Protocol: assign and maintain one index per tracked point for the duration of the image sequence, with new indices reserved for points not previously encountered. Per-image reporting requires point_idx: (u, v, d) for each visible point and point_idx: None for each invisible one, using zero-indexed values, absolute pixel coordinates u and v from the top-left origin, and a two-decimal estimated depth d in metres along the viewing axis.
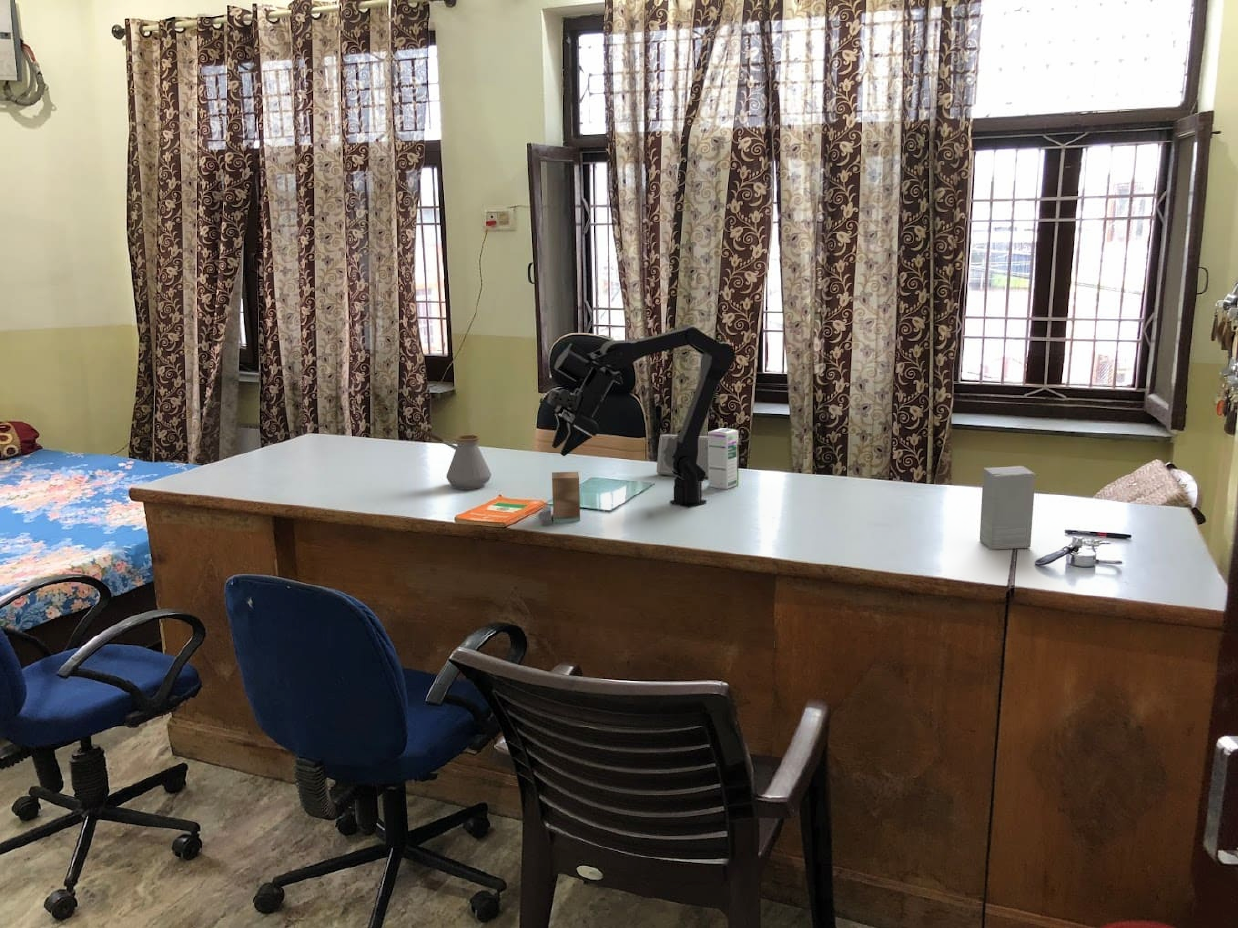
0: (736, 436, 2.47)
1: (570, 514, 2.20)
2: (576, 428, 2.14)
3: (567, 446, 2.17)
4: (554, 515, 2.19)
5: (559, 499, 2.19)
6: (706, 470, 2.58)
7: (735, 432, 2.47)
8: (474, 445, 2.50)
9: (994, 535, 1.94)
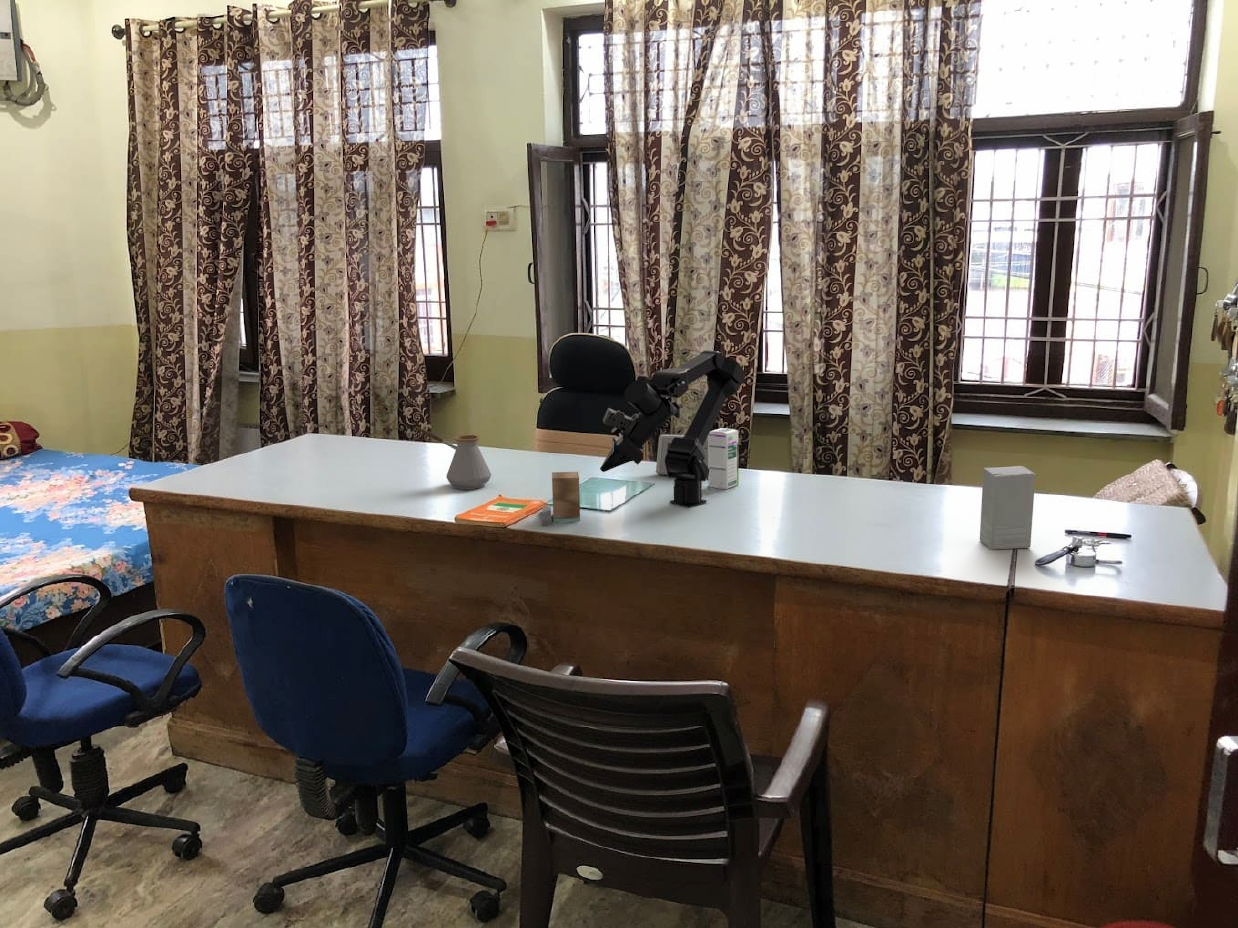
0: (736, 436, 2.47)
1: (570, 514, 2.20)
2: (619, 448, 2.17)
3: (608, 463, 2.20)
4: (554, 515, 2.19)
5: (559, 499, 2.19)
6: None
7: (735, 432, 2.47)
8: (474, 445, 2.50)
9: (994, 535, 1.94)
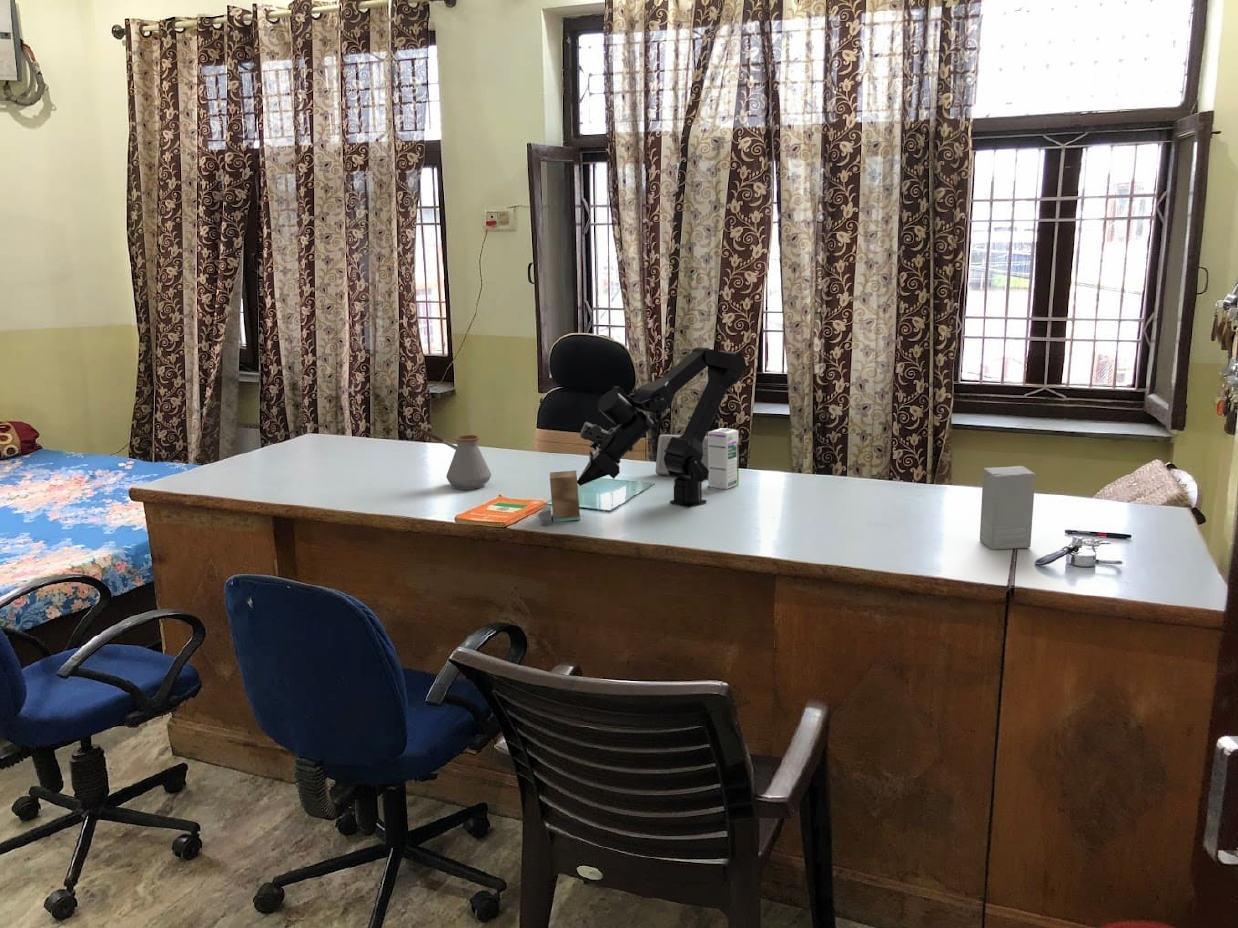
0: (736, 436, 2.47)
1: (569, 513, 2.20)
2: (596, 461, 2.17)
3: (584, 477, 2.20)
4: (554, 515, 2.19)
5: (558, 498, 2.19)
6: None
7: (735, 432, 2.47)
8: (474, 445, 2.50)
9: (994, 535, 1.94)
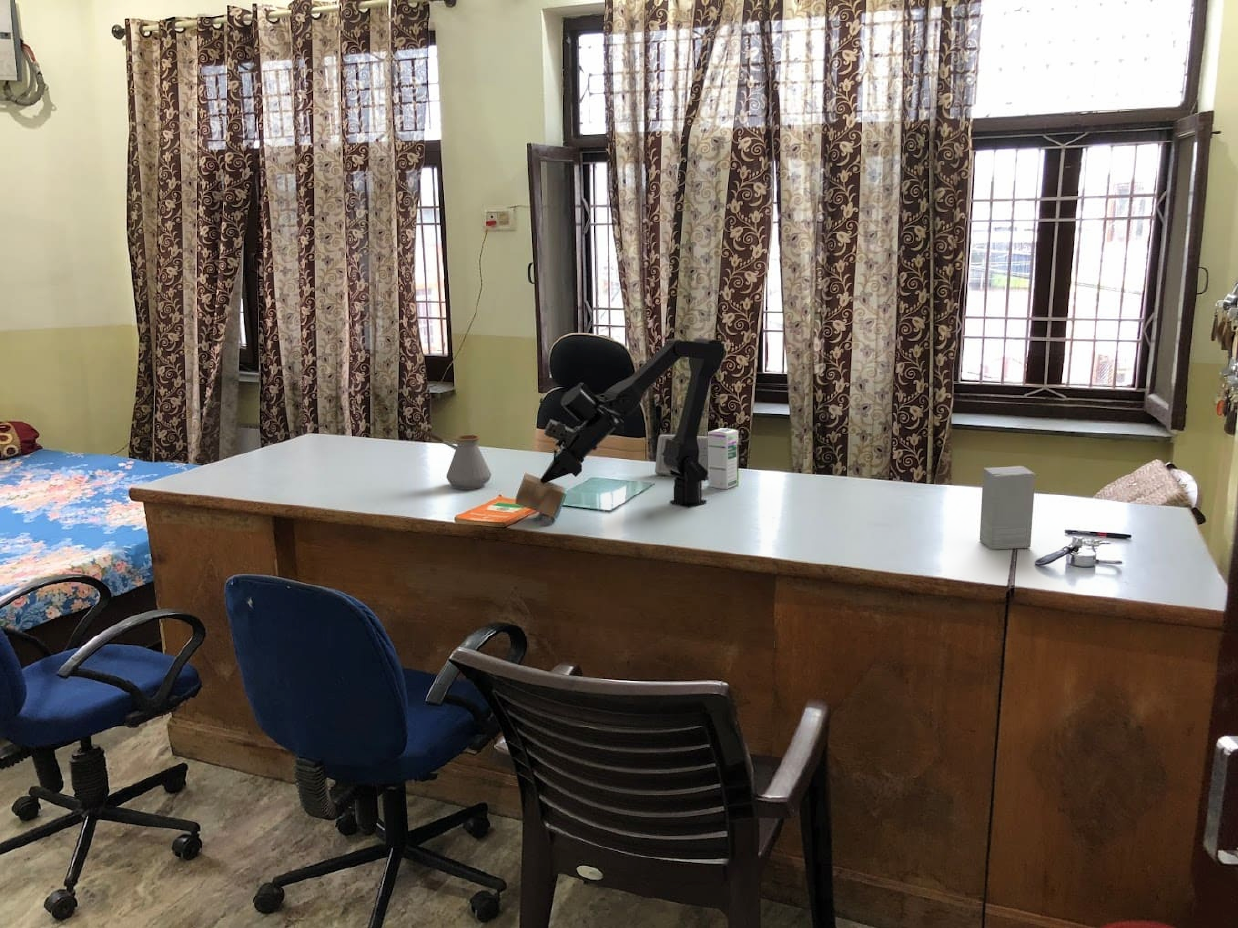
0: (736, 436, 2.47)
1: (557, 501, 2.19)
2: None
3: (548, 474, 2.19)
4: (551, 515, 2.19)
5: (537, 504, 2.19)
6: None
7: (735, 432, 2.47)
8: (474, 445, 2.50)
9: (994, 535, 1.94)
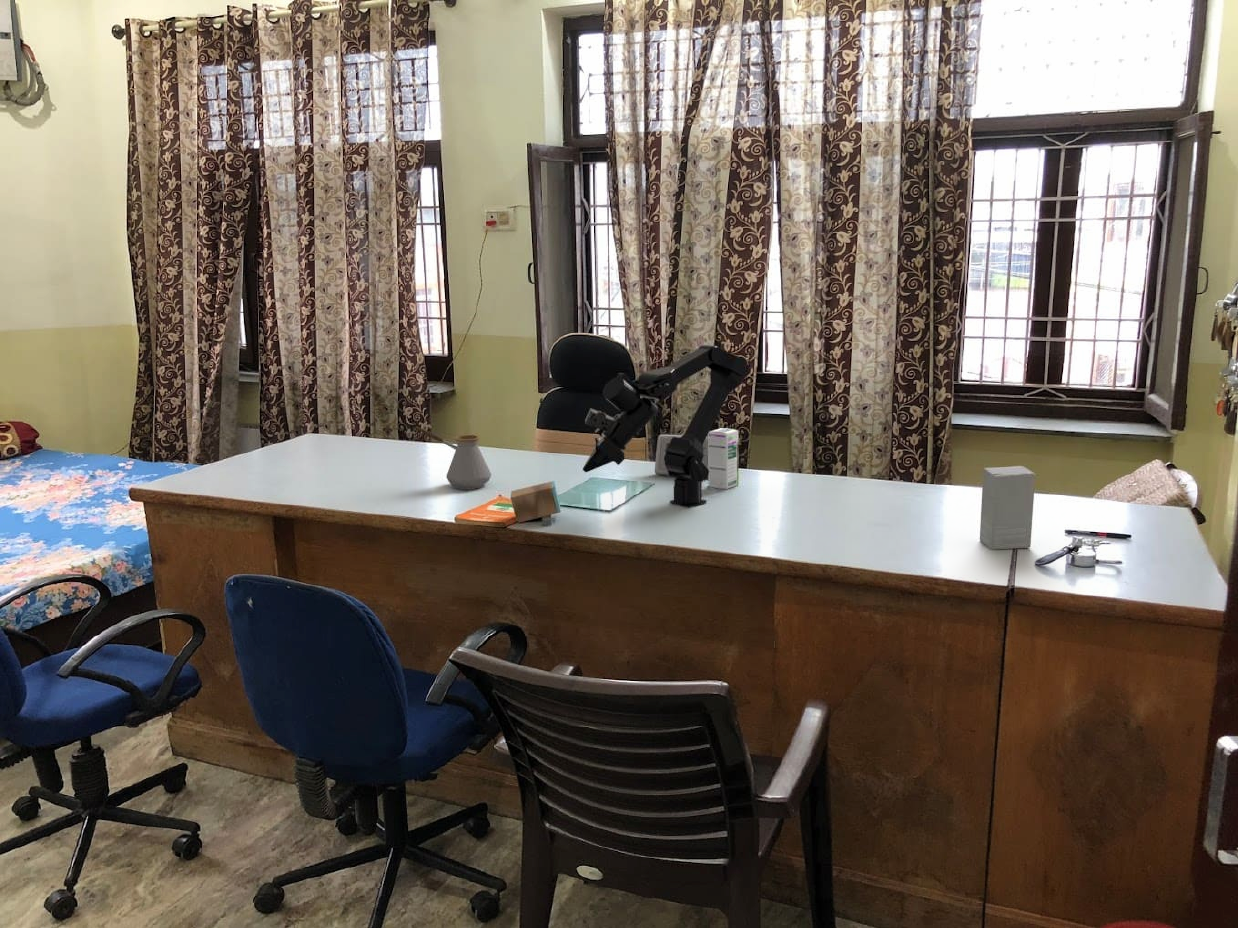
0: (736, 436, 2.47)
1: (550, 498, 2.19)
2: None
3: (590, 463, 2.20)
4: (554, 512, 2.19)
5: (536, 511, 2.19)
6: None
7: (735, 432, 2.47)
8: (474, 445, 2.50)
9: (994, 535, 1.94)
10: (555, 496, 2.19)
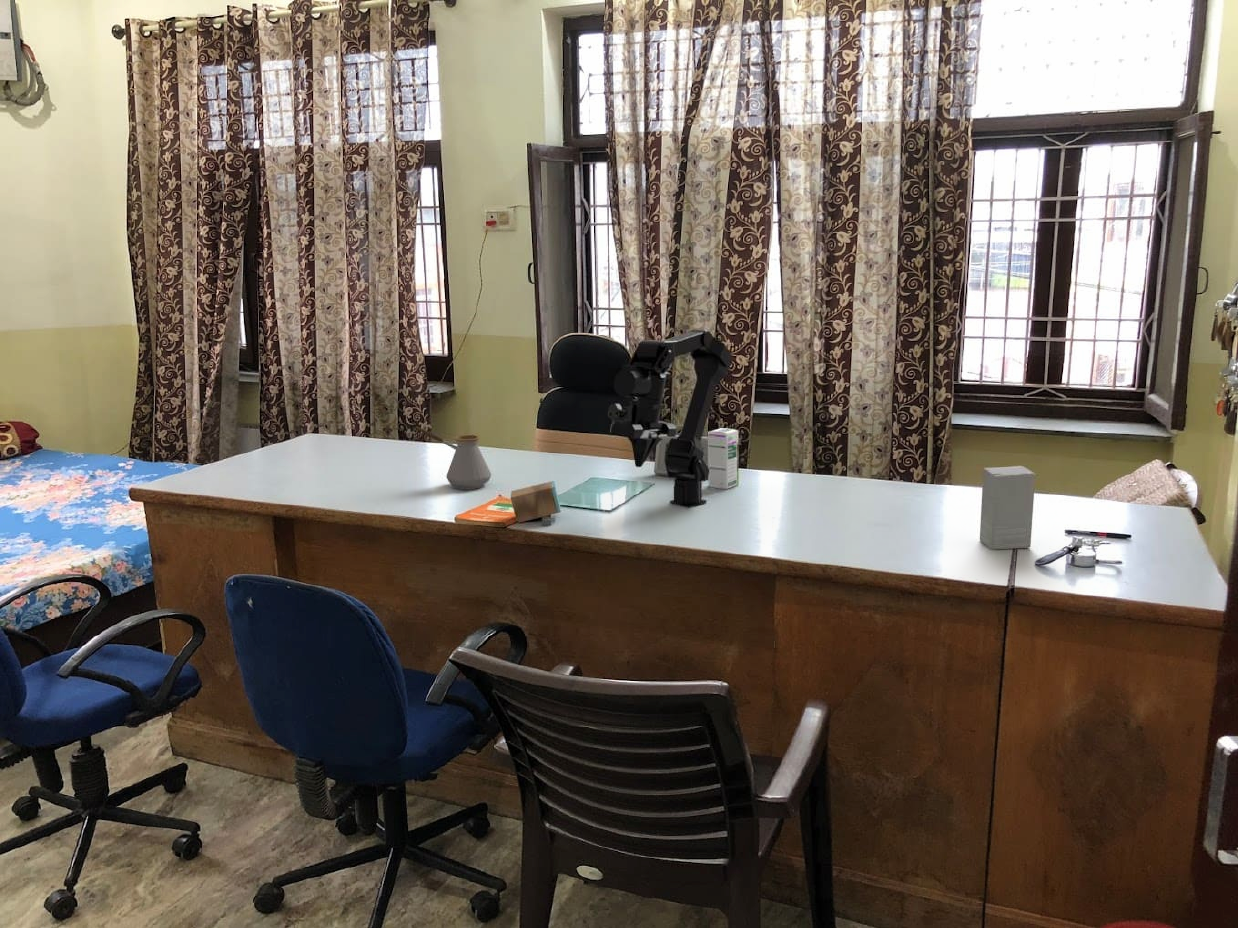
0: (736, 436, 2.47)
1: (550, 498, 2.19)
2: None
3: (636, 456, 2.17)
4: (554, 512, 2.19)
5: (536, 511, 2.19)
6: None
7: (735, 432, 2.47)
8: (474, 445, 2.50)
9: (994, 535, 1.94)
10: (555, 496, 2.19)
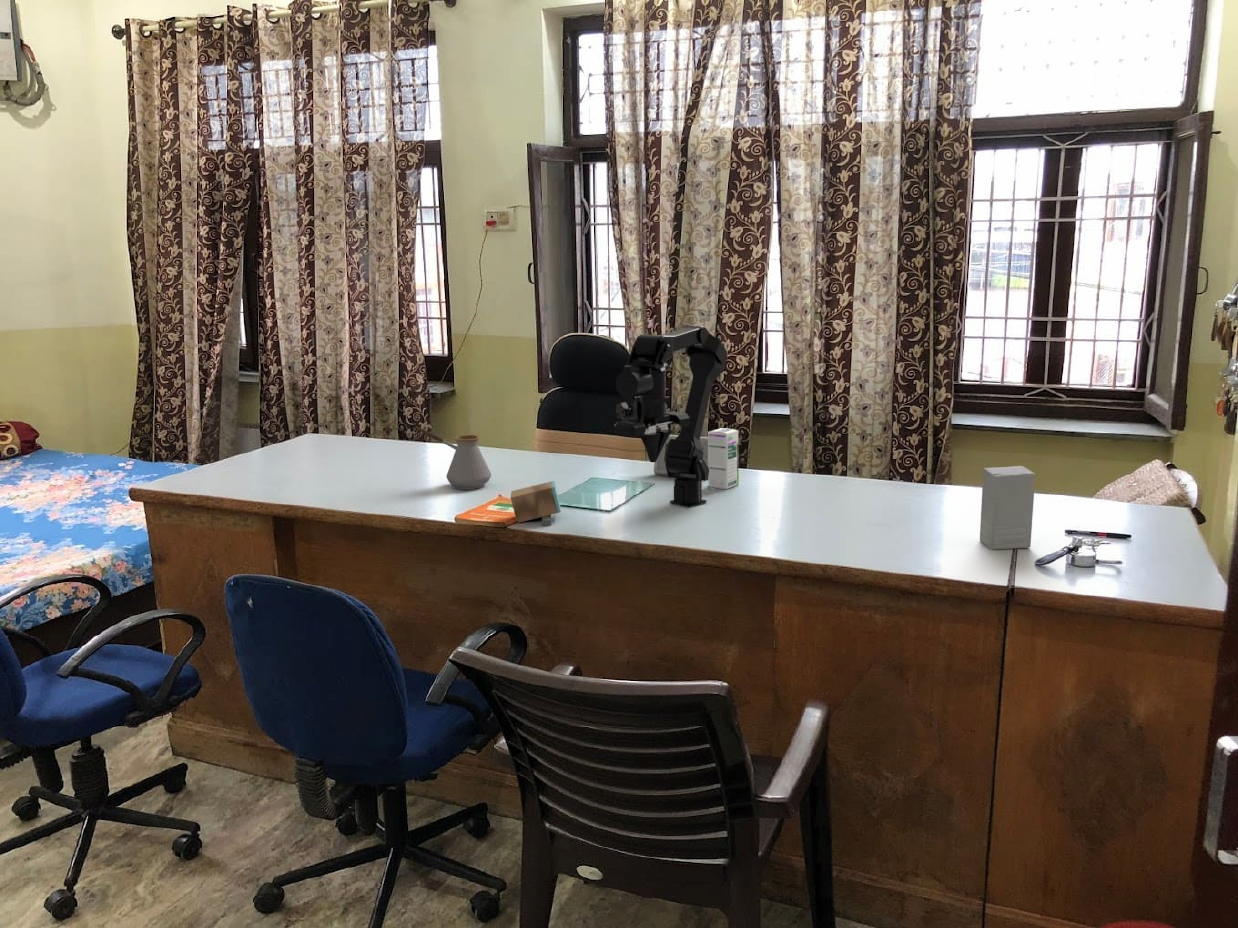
0: (736, 436, 2.47)
1: (550, 498, 2.19)
2: None
3: (649, 452, 2.17)
4: (554, 512, 2.19)
5: (536, 511, 2.19)
6: None
7: (735, 432, 2.47)
8: (474, 445, 2.50)
9: (994, 535, 1.94)
10: (555, 496, 2.19)
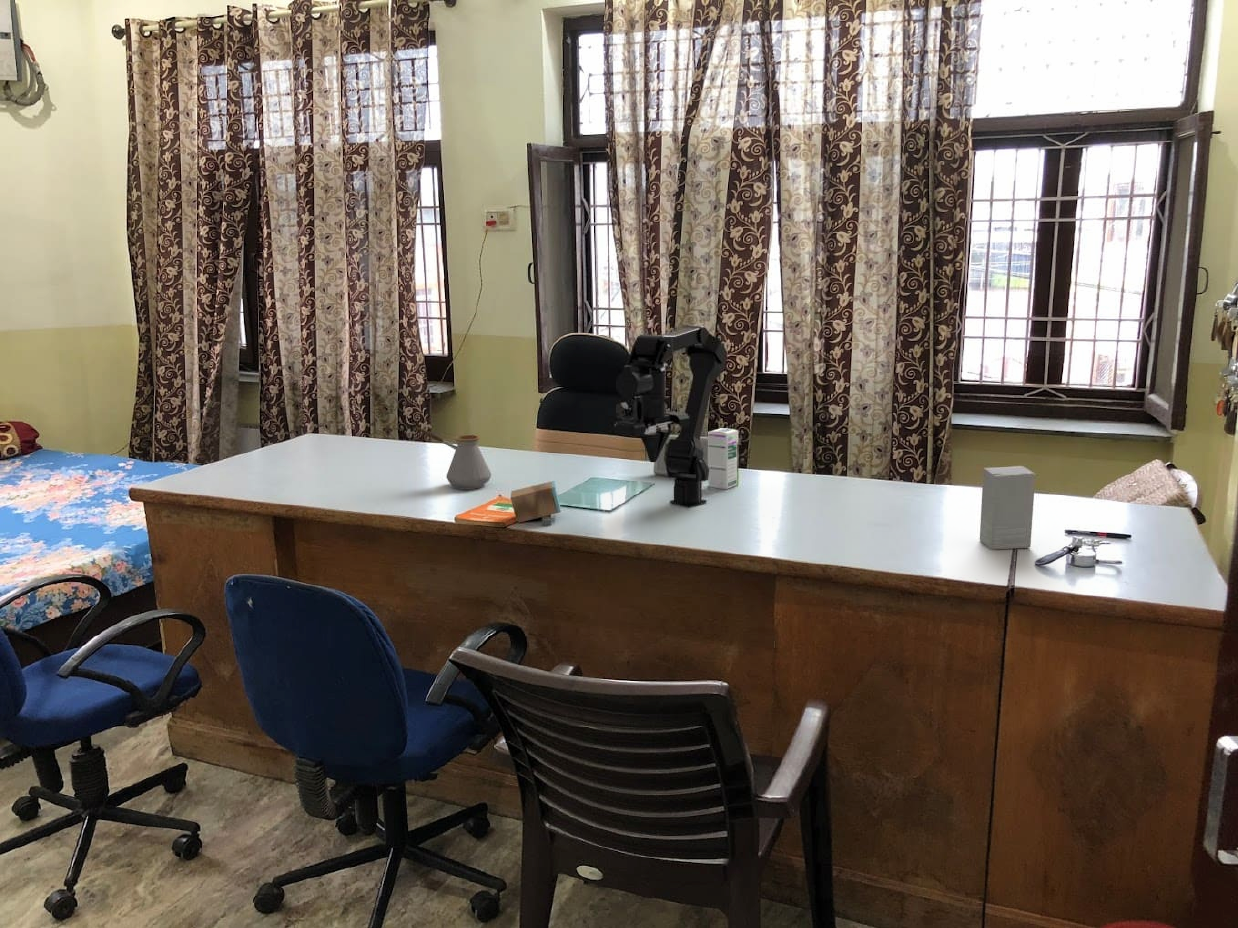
0: (736, 436, 2.47)
1: (550, 498, 2.19)
2: None
3: (649, 452, 2.17)
4: (554, 512, 2.19)
5: (536, 511, 2.19)
6: None
7: (735, 432, 2.47)
8: (474, 445, 2.50)
9: (994, 535, 1.94)
10: (555, 496, 2.19)
